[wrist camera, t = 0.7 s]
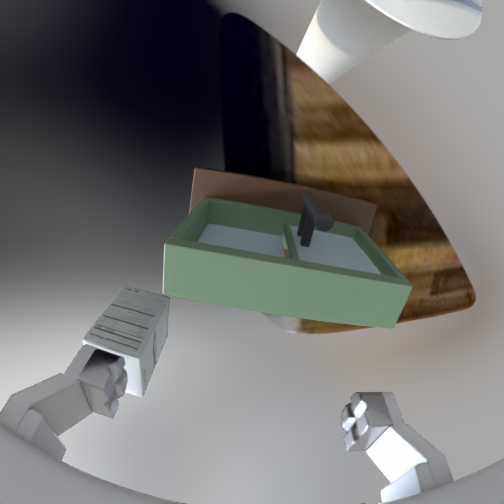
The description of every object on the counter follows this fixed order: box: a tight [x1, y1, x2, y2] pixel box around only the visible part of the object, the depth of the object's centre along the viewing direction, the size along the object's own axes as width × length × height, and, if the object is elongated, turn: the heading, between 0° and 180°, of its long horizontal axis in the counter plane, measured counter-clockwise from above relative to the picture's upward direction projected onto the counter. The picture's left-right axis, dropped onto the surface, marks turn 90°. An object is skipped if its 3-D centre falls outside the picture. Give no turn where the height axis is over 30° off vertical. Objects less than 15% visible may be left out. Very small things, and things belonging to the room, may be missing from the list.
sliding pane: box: [283, 192, 379, 274], centre depth 25 cm, size 5×8×11 cm, turn 80°
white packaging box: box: [83, 286, 170, 397], centre depth 33 cm, size 7×7×13 cm
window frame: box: [163, 167, 413, 328], centre depth 26 cm, size 10×21×15 cm, turn 80°
